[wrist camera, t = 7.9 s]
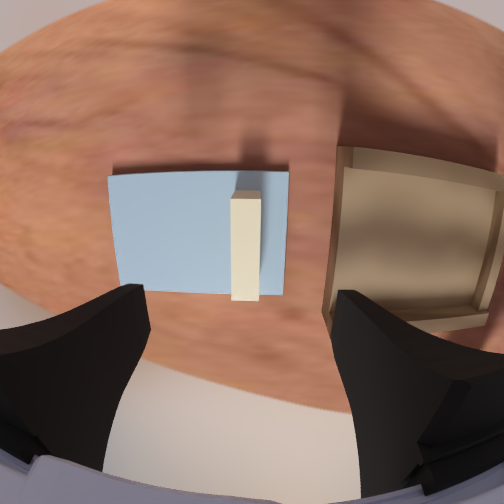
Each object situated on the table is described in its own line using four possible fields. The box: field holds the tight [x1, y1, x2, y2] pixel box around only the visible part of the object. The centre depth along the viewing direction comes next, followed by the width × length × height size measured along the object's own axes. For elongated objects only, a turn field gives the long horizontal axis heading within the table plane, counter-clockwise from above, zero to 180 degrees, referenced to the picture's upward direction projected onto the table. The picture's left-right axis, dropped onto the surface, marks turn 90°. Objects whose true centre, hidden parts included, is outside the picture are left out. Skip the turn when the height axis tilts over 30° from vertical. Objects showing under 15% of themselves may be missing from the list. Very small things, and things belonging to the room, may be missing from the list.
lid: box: [108, 170, 289, 301], centre depth 19 cm, size 8×12×4 cm
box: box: [322, 146, 504, 339], centre depth 18 cm, size 12×14×4 cm
